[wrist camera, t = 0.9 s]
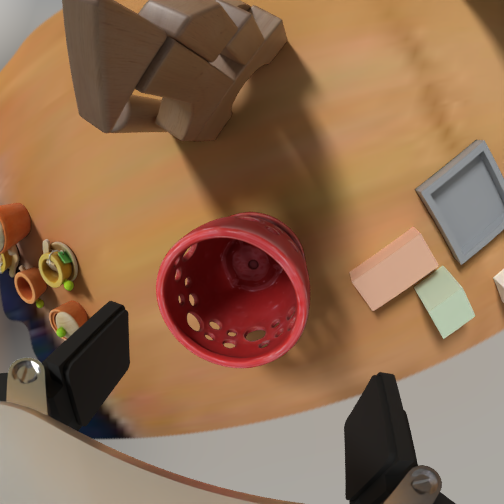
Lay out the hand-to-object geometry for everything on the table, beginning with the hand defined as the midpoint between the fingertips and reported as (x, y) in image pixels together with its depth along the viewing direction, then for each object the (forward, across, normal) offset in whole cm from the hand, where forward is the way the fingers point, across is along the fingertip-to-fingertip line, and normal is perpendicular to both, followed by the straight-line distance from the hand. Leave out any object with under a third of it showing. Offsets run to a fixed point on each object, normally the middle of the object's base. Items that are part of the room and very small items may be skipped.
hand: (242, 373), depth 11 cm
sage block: (+25, -20, +4) cm, 32 cm away
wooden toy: (+25, +10, -13) cm, 30 cm away
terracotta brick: (+25, -13, +2) cm, 28 cm away
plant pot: (+25, +3, +6) cm, 26 cm away
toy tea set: (+26, +36, +16) cm, 47 cm away
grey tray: (+25, -20, -7) cm, 32 cm away
